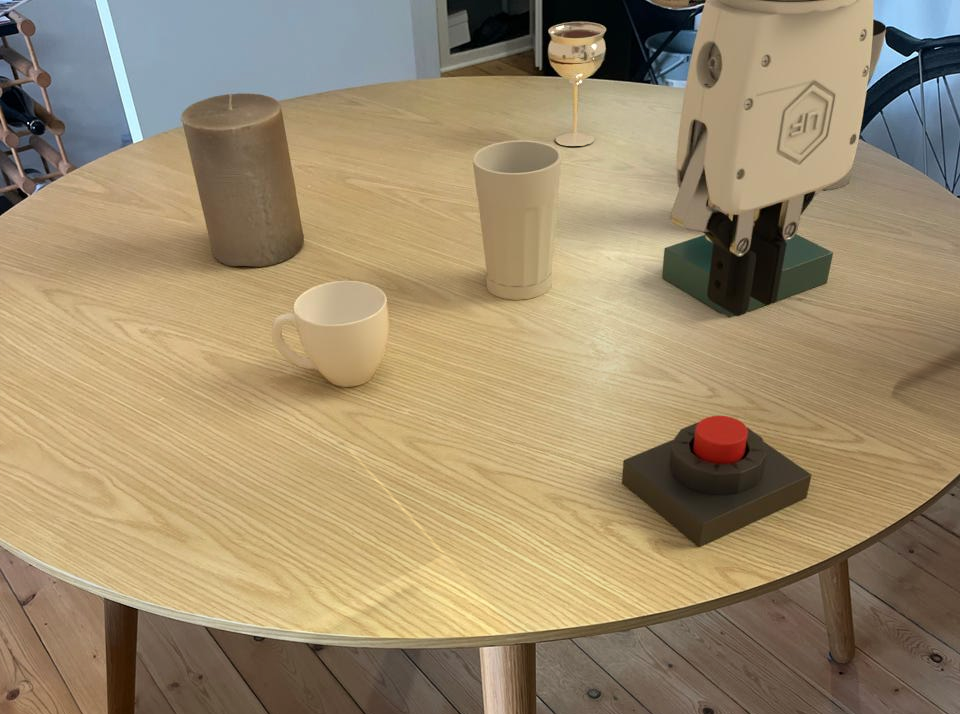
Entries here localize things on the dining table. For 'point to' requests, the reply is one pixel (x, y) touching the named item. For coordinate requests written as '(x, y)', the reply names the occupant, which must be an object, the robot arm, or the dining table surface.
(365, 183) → the dining table surface
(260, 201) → the pillar candle
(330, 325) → the cup
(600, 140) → the dining table surface
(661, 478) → the red button base
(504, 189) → the cup
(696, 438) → the red button
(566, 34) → the wineglass
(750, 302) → the dial panel
